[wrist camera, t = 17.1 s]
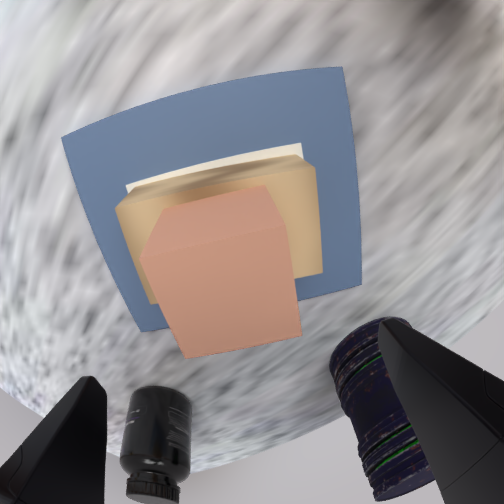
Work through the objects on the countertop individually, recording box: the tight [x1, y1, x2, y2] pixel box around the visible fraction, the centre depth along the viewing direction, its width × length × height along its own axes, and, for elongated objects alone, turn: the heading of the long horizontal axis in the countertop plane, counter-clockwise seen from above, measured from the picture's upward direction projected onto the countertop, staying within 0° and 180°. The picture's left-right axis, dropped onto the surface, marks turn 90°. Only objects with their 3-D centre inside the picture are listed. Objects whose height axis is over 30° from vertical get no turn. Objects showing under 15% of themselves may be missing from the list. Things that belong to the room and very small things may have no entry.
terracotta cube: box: [139, 185, 302, 359], centre depth 13 cm, size 5×5×5 cm
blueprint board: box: [61, 67, 362, 332], centre depth 19 cm, size 18×16×1 cm
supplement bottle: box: [120, 386, 192, 504], centre depth 23 cm, size 7×7×12 cm
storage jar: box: [329, 317, 435, 502], centre depth 21 cm, size 10×10×15 cm
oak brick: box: [115, 154, 323, 305], centre depth 17 cm, size 10×6×4 cm, turn 100°
